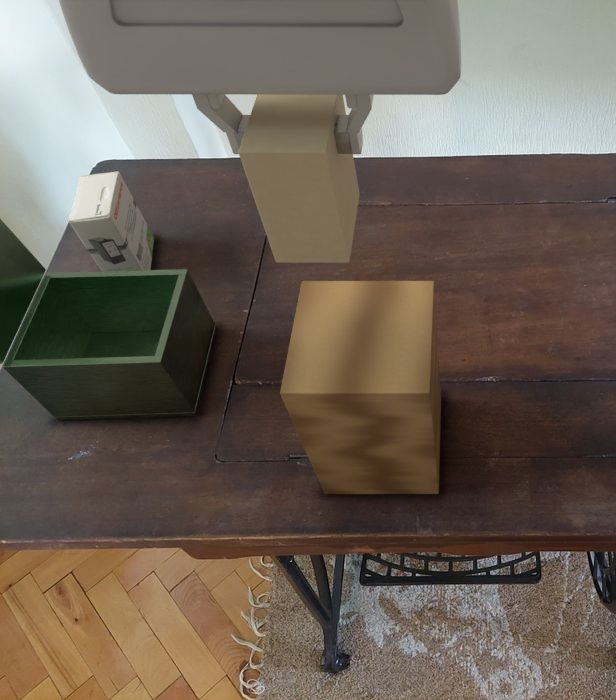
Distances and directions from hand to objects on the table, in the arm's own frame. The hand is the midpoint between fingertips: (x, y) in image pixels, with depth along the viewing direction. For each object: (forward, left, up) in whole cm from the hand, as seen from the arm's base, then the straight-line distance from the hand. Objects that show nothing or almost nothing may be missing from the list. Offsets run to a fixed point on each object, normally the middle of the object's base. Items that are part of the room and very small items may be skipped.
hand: (300, 148), depth 40 cm
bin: (-11, +28, -39) cm, 49 cm away
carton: (0, 0, -7) cm, 7 cm away
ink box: (-1, +44, -39) cm, 58 cm away
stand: (+1, -1, -39) cm, 39 cm away
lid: (-16, +34, -19) cm, 42 cm away
